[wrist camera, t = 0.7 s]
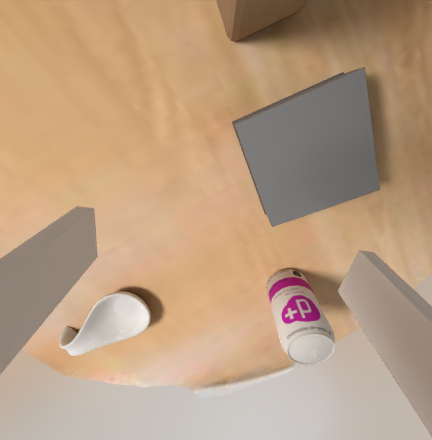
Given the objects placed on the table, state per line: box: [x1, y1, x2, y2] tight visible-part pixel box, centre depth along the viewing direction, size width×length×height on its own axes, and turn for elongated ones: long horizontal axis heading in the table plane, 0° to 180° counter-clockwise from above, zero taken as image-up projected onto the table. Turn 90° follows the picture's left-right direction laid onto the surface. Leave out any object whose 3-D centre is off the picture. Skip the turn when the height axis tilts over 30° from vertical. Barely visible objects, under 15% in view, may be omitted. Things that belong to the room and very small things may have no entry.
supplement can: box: [266, 269, 335, 365], centre depth 41 cm, size 8×8×15 cm
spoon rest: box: [59, 292, 151, 356], centre depth 50 cm, size 24×12×7 cm, turn 123°
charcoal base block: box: [232, 67, 380, 227], centre depth 34 cm, size 16×16×6 cm
